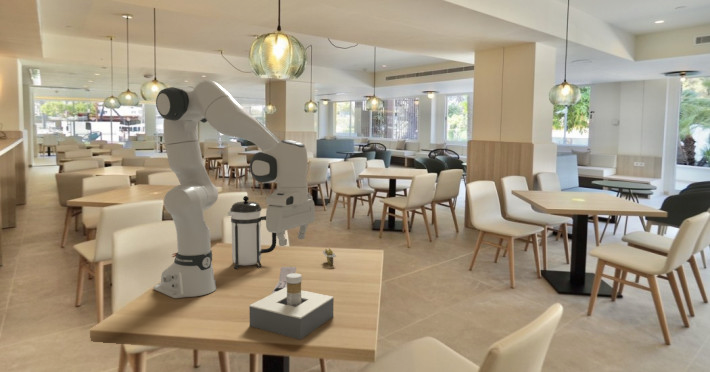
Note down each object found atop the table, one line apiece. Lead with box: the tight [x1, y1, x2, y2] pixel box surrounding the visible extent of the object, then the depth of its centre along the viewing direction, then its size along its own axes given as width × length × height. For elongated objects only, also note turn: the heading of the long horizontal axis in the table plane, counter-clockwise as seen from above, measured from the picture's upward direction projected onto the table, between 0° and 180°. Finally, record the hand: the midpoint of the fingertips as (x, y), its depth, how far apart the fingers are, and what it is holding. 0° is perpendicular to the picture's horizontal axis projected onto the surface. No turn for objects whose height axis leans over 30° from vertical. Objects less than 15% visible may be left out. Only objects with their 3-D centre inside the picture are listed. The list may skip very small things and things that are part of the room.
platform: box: [322, 247, 337, 266], centre depth 196 cm, size 12×18×7 cm, turn 18°
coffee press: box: [226, 195, 277, 270], centre depth 191 cm, size 17×16×30 cm
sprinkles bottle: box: [286, 272, 303, 307], centre depth 135 cm, size 5×5×14 cm
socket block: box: [248, 287, 335, 340], centre depth 135 cm, size 18×18×6 cm
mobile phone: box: [271, 266, 297, 294], centre depth 160 cm, size 6×6×25 cm
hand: (292, 242), depth 133 cm, fingers open, 8 cm apart
